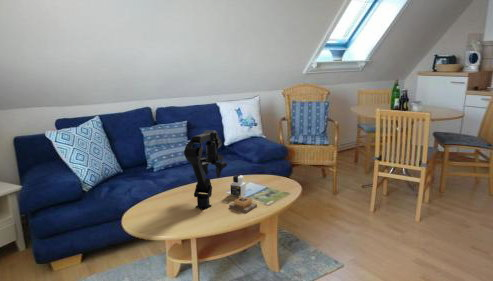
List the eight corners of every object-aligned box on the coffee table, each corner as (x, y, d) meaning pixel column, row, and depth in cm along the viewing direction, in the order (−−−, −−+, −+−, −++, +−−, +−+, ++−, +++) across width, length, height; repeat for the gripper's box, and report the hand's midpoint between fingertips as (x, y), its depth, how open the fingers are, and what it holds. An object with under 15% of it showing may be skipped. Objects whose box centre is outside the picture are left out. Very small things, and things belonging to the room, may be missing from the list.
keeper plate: (246, 212, 184) (246, 203, 183) (229, 207, 191) (228, 198, 189) (257, 206, 192) (256, 197, 190) (240, 201, 199) (239, 193, 197)
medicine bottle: (230, 195, 209) (230, 176, 206) (236, 191, 215) (235, 173, 212) (240, 197, 206) (240, 178, 203) (246, 193, 212) (245, 174, 209)
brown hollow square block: (244, 208, 186) (244, 203, 185) (234, 205, 190) (234, 200, 190) (251, 204, 192) (251, 199, 191) (241, 201, 196) (241, 196, 195)
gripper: (232, 150, 201) (233, 175, 205) (208, 146, 212) (209, 170, 215) (220, 154, 192) (221, 180, 196) (196, 150, 203) (197, 175, 207)
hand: (212, 176), depth 204 cm, fingers open, 9 cm apart
